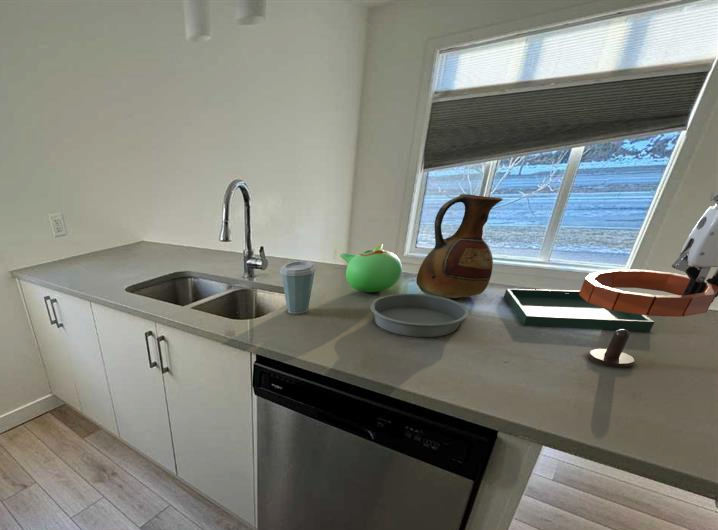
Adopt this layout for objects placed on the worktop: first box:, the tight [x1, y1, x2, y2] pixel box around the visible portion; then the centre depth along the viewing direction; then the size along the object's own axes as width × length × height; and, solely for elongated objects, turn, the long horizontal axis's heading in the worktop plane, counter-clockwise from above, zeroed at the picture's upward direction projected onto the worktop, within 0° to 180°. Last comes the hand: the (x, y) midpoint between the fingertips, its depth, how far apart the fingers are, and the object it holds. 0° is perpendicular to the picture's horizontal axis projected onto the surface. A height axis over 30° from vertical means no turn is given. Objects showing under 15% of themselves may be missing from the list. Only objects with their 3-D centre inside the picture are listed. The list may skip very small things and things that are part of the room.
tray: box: [503, 288, 655, 333], centre depth 111 cm, size 26×24×3 cm
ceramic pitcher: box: [416, 193, 504, 300], centre depth 124 cm, size 20×20×30 cm
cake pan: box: [370, 293, 470, 338], centre depth 113 cm, size 25×25×4 cm
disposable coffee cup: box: [280, 259, 316, 315], centre depth 126 cm, size 11×11×15 cm
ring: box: [579, 269, 718, 318], centre depth 81 cm, size 18×18×4 cm
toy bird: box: [339, 243, 403, 293], centre depth 138 cm, size 18×17×15 cm
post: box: [587, 329, 635, 369], centre depth 87 cm, size 7×7×7 cm
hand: (697, 300), depth 79 cm, fingers closed on ring, 1 cm apart
